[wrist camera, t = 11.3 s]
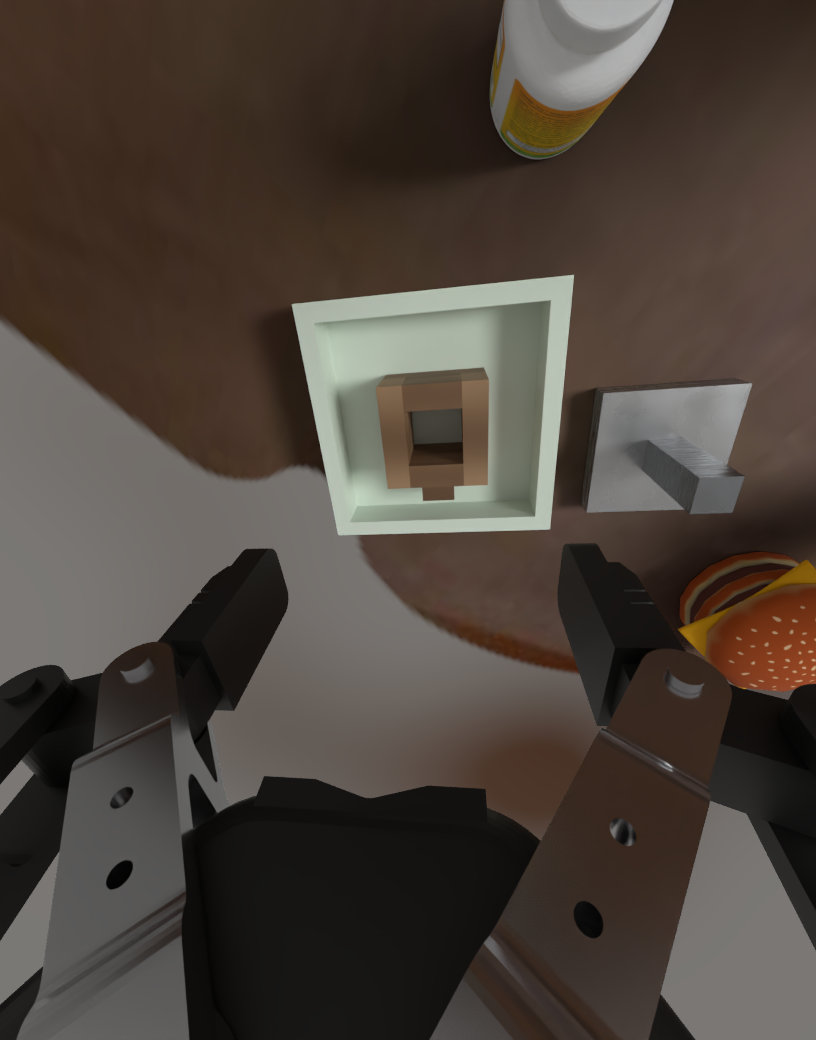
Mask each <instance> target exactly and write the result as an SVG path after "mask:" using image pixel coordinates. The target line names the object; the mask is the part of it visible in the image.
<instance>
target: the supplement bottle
mask: <svg viewBox="0 0 816 1040" xmlns="http://www.w3.org/2000/svg"><path fill="white" fill-rule="evenodd" d="M673 1H674V0H504V4H503V9H502V15H501V20H500V25H499V32H498V37H497V43H496V48H495V54H494V59H493V65H492V71H491V78H490V106H491V113H492V117H493V121H494V124H495V127H496V129H497V131H498V133H499V135H500V137H501V138H502V140H503V141H504V142H505V144H506V145H507V146H508V147H509V148H510V149H512V150H513V151H514V152H515V153H517V154H519V155H521V156H523V157H526V158H529V159H547V158H551V157H554V156H556V155H559V154H561V153H563V152H564V151H566V150H568V149H569V148H570V147H572V146H573V145H574V144H575V143H576V142H578V141H579V140H580V139H581V138H582V137H583V136H584V135H585V133H586V132H587V131H588V130H589V129H590V128H591V126H592V125H593V124H594V123H595V121H596V120H597V119H598V118H599V116H600V115H601V114H602V113H603V111H604V110H605V109H606V108H607V106H608V105H609V104H610V103H611V101H612V100H613V99H614V98H615V97H616V95H617V94H618V93H619V92H620V90H621V89H622V88H623V87H624V86H625V84H626V83H627V82H628V81H629V80H630V78H631V77H632V76H633V75H634V74H635V72H636V71H637V70H638V68H639V67H640V65H641V64H642V63H643V61H644V60H645V58H646V57H647V55H648V54H649V52H650V51H651V49H652V48H653V46H654V44H655V43H656V41H657V39H658V37H659V35H660V33H661V31H662V29H663V27H664V25H665V23H666V20H667V18H668V15H669V13H670V10H671V7H672V4H673Z"/></svg>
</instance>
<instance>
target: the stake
mask: <svg viewBox="0 0 816 1040" xmlns="http://www.w3.org/2000/svg"><path fill="white" fill-rule="evenodd" d="M751 386H752V383H750V382H746V381H743V380H739V379H722V380H707V381H693V382H678V383H664V384H649V385H635V386H621V387H606V388H596V390H595V398H594V405H593V413H592V421H591V428H590V436H589V443H588V451H587V458H586V466H585V473H584V481H583V488H582V496H581V504H582V506H583V507H584V509H585V511H586V512H618V511H649V510H680V509H685V510H686V511H687V512H688V513H689V514H709V513H732V512H733V509H734V506H735V504H736V501H737V498H738V495H739V492H740V489H741V486H742V483H743V480H744V477H745V476H744V475H742V474H740V473H739V472H737V471H736V470H734V469H732V468H731V467H729V466H727V463H728V459H729V456H730V453H731V450H732V447H733V443H734V440H735V437H736V434H737V431H738V427H739V424H740V421H741V418H742V415H743V411H744V408H745V405H746V402H747V399H748V396H749V392H750V389H751Z"/></svg>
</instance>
